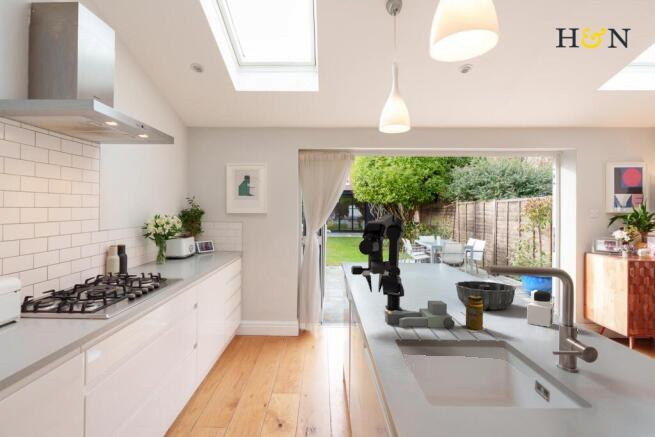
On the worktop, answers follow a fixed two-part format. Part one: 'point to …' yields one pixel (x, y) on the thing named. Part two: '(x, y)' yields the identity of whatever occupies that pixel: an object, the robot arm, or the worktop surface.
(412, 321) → the grey blocky piece
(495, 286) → the bundt pan
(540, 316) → the container
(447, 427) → the worktop surface
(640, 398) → the worktop surface
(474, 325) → the condiment
